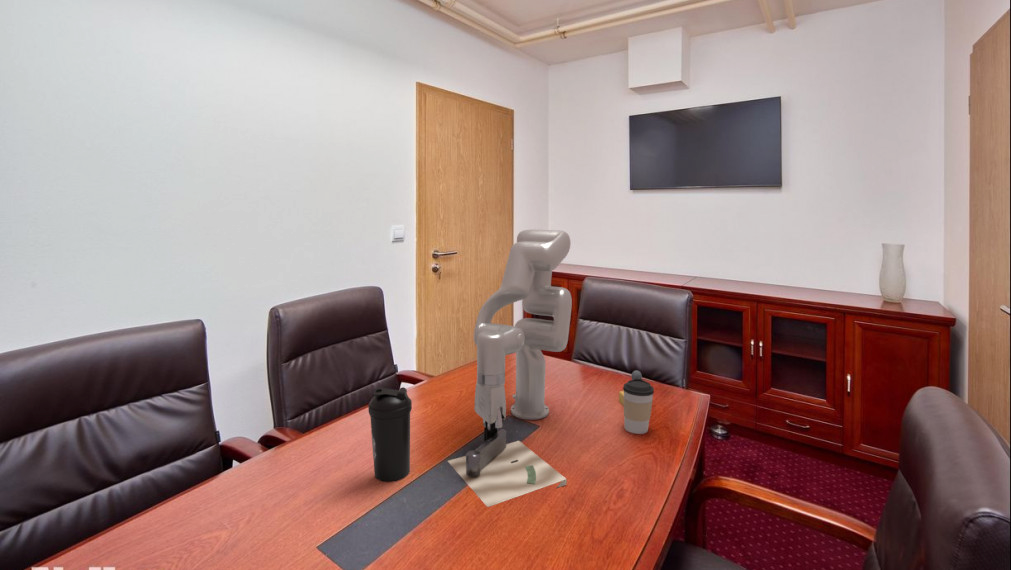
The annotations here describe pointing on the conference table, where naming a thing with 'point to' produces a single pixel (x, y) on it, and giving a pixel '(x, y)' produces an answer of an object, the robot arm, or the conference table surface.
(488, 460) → the pointer lever
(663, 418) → the conference table surface
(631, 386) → the coffee cup
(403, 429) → the water bottle
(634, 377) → the rubber stamp
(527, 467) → the dial plate
